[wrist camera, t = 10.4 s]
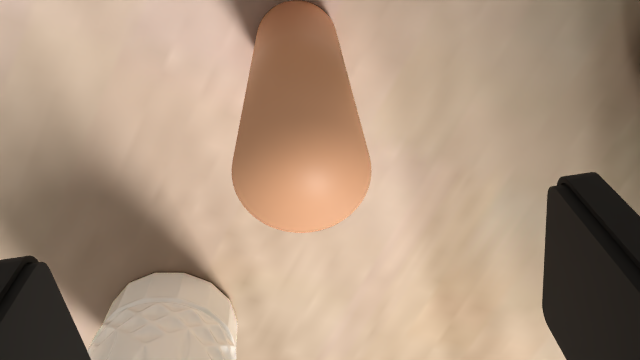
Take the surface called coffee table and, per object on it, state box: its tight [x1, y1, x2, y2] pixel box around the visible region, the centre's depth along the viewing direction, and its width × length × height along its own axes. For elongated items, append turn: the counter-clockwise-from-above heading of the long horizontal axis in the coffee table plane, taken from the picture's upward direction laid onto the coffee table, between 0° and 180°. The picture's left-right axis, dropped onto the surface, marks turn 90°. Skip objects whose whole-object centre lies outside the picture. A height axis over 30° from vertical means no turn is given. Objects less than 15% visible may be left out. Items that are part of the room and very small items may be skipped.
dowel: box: [232, 0, 371, 233], centre depth 20 cm, size 3×3×12 cm
